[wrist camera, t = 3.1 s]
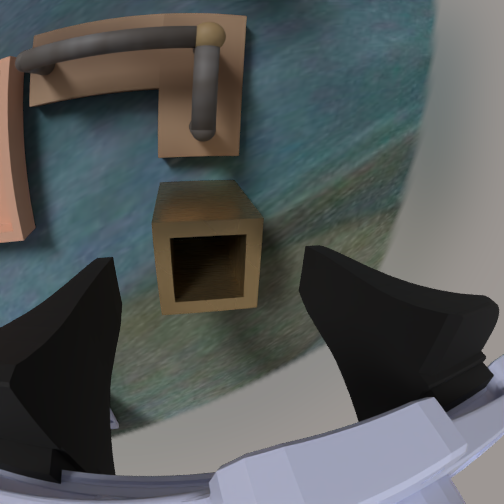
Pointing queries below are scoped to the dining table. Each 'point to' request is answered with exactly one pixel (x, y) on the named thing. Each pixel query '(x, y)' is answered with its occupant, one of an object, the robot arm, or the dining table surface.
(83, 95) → the bent wire
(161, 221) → the hollow wooden box
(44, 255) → the dining table surface
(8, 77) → the dish
